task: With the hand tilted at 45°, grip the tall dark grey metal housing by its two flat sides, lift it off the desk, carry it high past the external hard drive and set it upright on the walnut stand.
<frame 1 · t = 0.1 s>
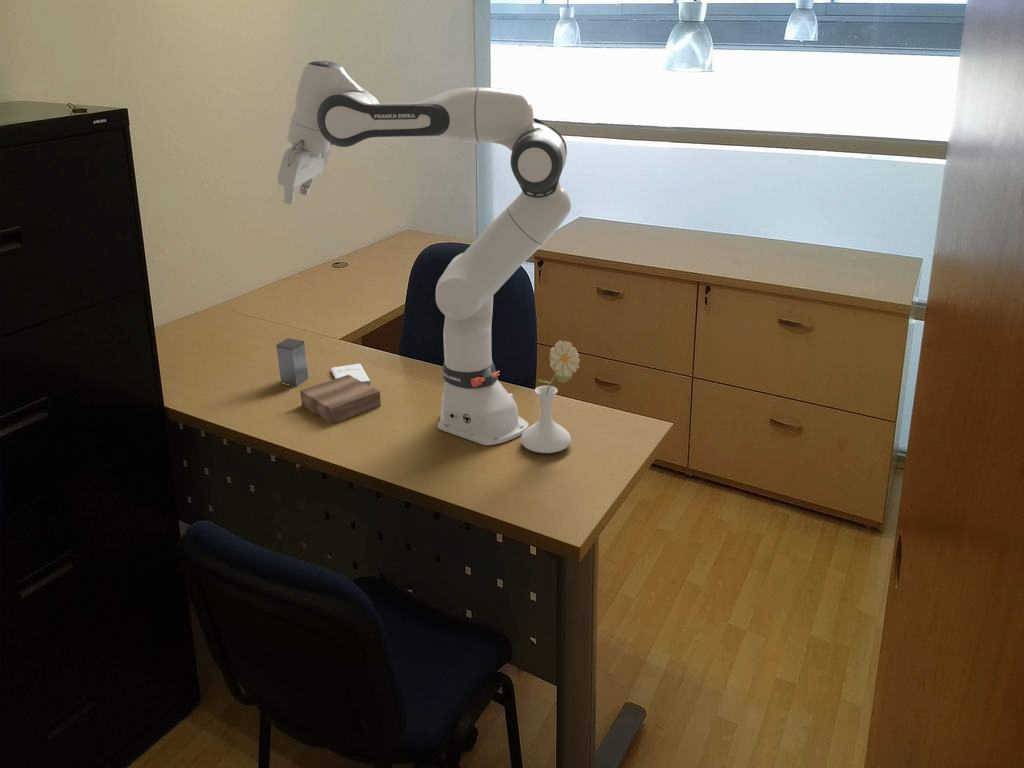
hand: (296, 198, 190), 52 cm above the table, tool tilted 20°, fingers open, 8 cm apart
external hard drive: (350, 379, 229), on the table
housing: (294, 381, 227), on the table
stand: (341, 405, 213), on the table
flower in vase: (549, 446, 194), on the table
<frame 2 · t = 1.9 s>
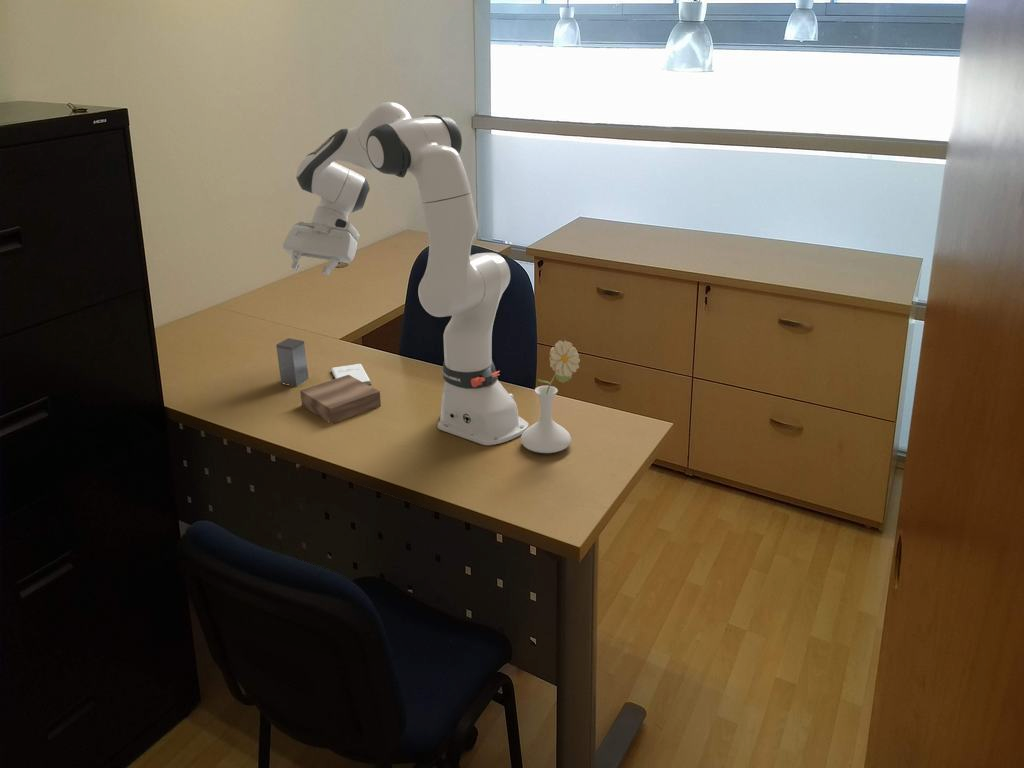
hand: (309, 271, 225), 27 cm above the table, tool tilted 45°, fingers open, 8 cm apart
nothing on the table moved.
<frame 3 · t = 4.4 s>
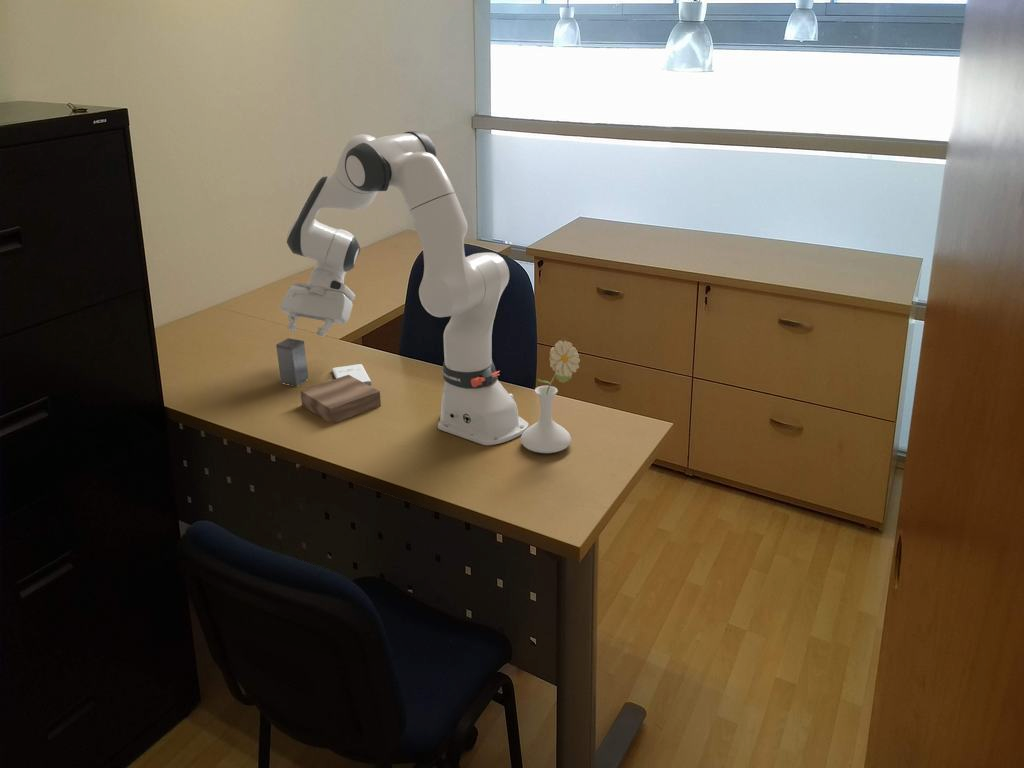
hand: (305, 332, 228), 11 cm above the table, tool tilted 45°, fingers open, 8 cm apart
nothing on the table moved.
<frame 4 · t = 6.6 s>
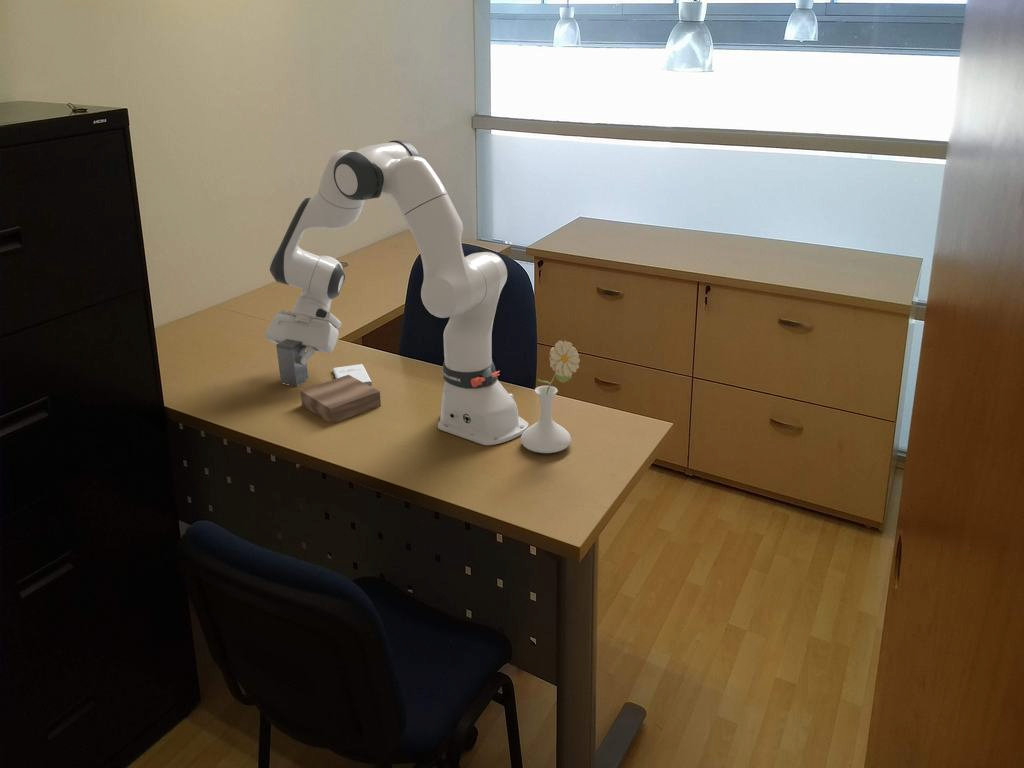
hand: (290, 361, 224), 6 cm above the table, tool tilted 45°, fingers closed on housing, 5 cm apart
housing: (294, 381, 227), on the table, touching gripper
everything else where it was.
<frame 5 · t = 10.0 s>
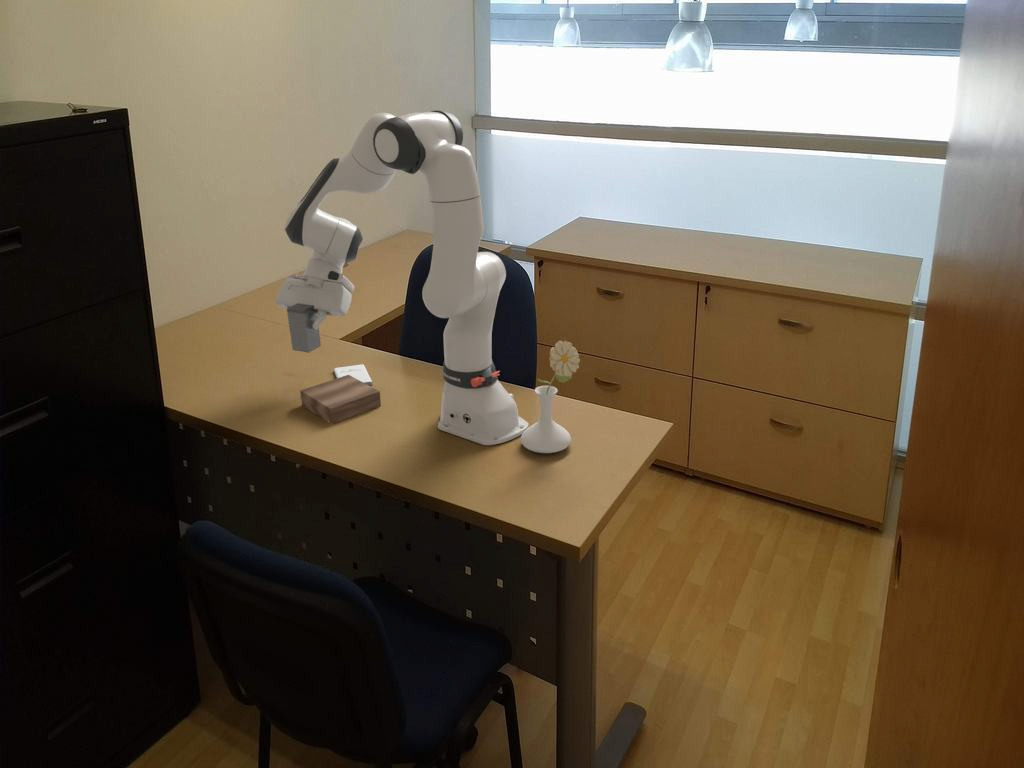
hand: (302, 326, 214), 17 cm above the table, tool tilted 45°, fingers closed on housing, 5 cm apart
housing: (306, 347, 217), point 12 cm above the table, touching gripper
everything else where it was.
when the fingers open (11 cm above the table, at t = 13.2 s): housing drops 1 cm, resting on stand.
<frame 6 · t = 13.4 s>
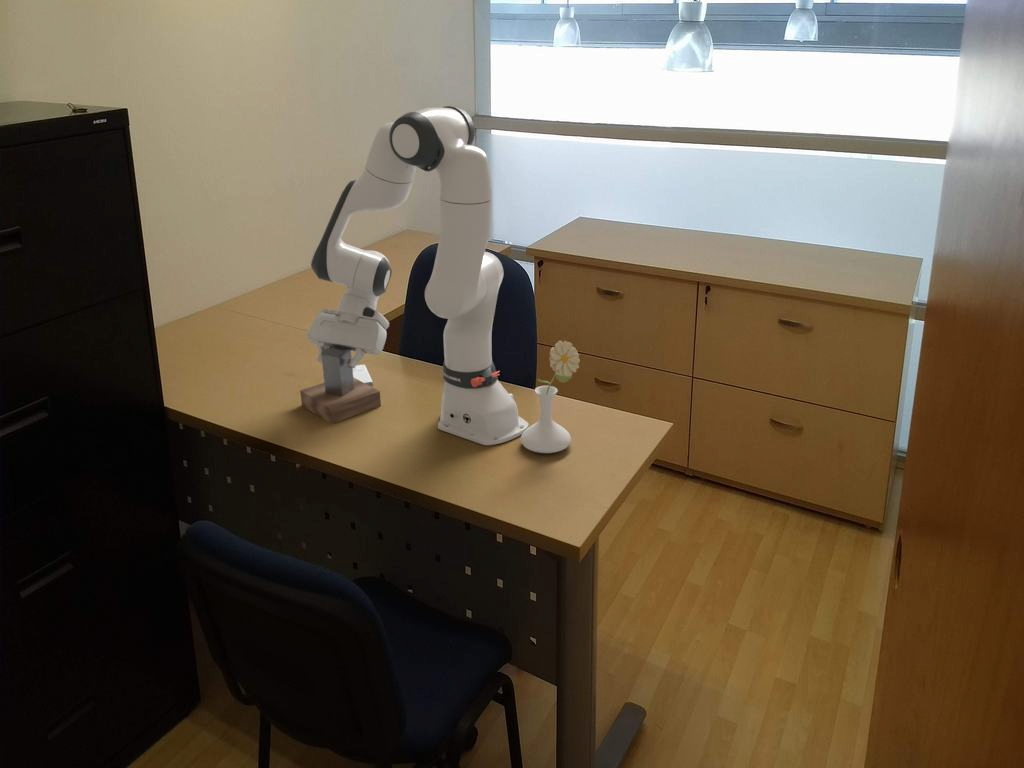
hand: (335, 364, 208), 11 cm above the table, tool tilted 45°, fingers open, 7 cm apart
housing: (340, 391, 212), point 4 cm above the table, touching stand
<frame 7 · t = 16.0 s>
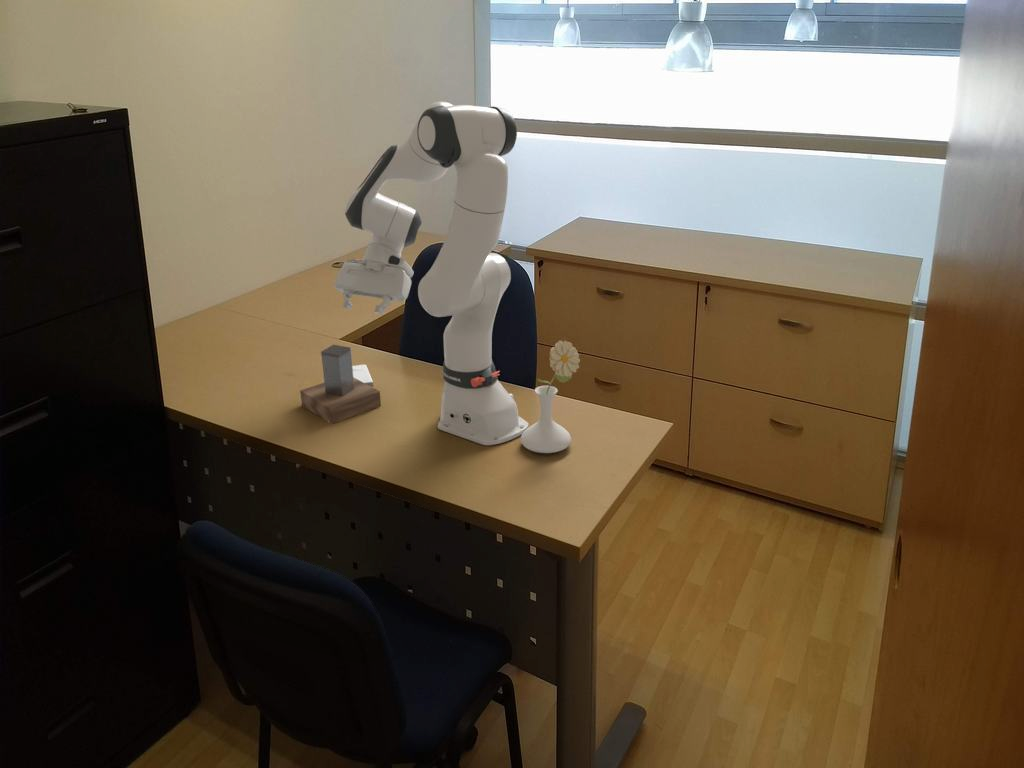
hand: (362, 310, 215), 21 cm above the table, tool tilted 45°, fingers open, 8 cm apart
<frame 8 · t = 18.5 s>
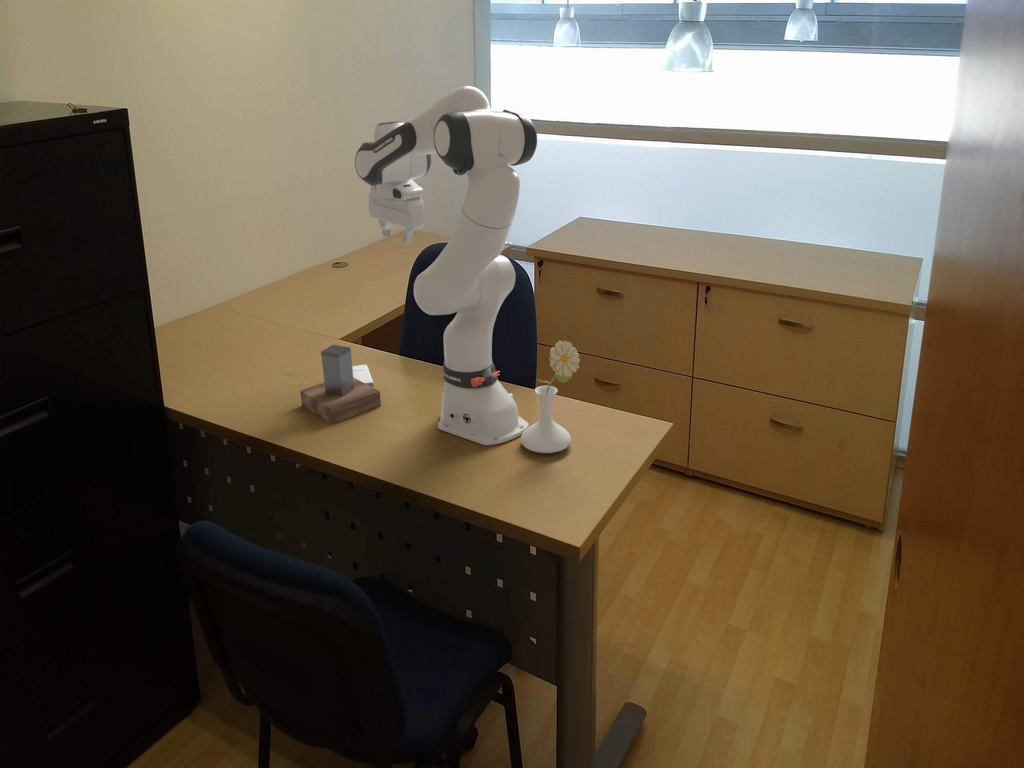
hand: (397, 239, 226), 34 cm above the table, tool pointing down, fingers open, 8 cm apart
at the end: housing inside the target area on the stand (0.1 cm from its centre), point 4.0 cm above the stand's base; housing tilted 0°; the gripper is holding nothing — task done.
